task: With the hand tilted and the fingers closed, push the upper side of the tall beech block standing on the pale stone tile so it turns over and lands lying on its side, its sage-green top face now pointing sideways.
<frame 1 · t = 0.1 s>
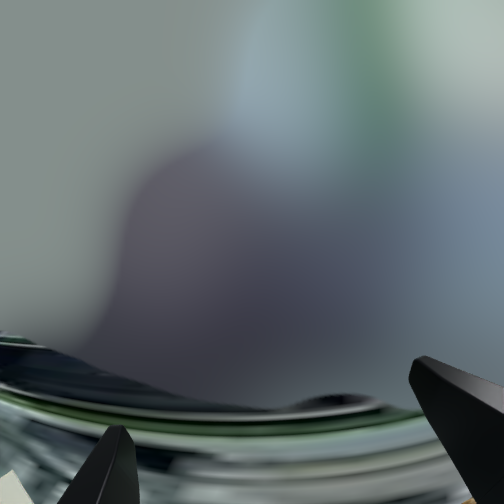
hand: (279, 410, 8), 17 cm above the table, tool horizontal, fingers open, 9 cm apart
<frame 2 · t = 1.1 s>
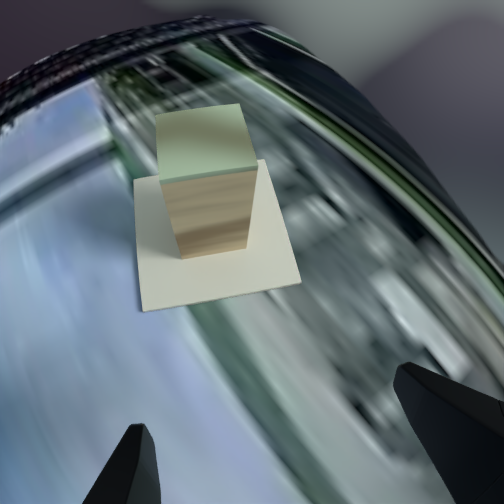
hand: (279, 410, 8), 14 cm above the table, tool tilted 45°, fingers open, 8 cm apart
beech block: (209, 225, 25), resting on stone tile
stone tile: (209, 228, 26), on the table
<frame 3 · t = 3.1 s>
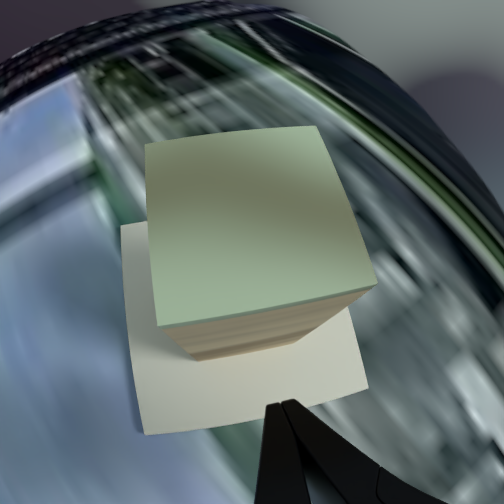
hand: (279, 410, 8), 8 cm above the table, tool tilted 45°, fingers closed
beech block: (236, 307, 17), resting on stone tile
stone tile: (236, 308, 17), on the table
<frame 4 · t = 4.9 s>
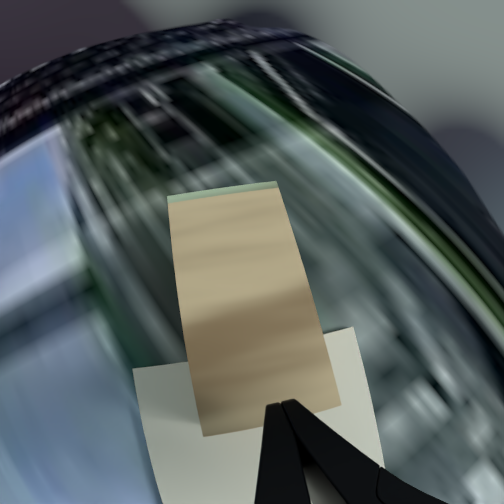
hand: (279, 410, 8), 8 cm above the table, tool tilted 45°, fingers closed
beech block: (266, 420, 12), point 3 cm above the table, tilted 94°, touching stone tile
stone tile: (269, 458, 14), on the table
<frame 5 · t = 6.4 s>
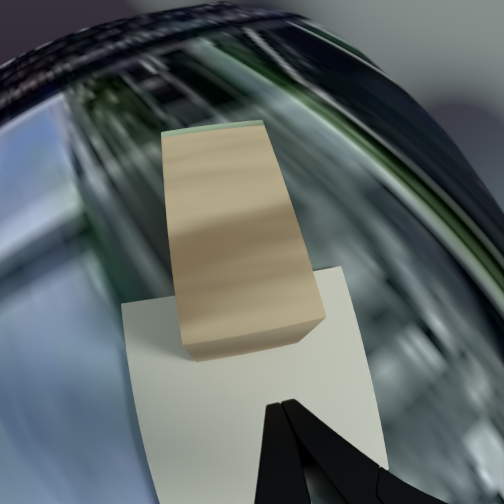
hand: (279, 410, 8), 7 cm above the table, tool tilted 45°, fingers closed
beech block: (251, 344, 13), point 3 cm above the table, tilted 94°, touching stone tile
stone tile: (257, 400, 15), on the table
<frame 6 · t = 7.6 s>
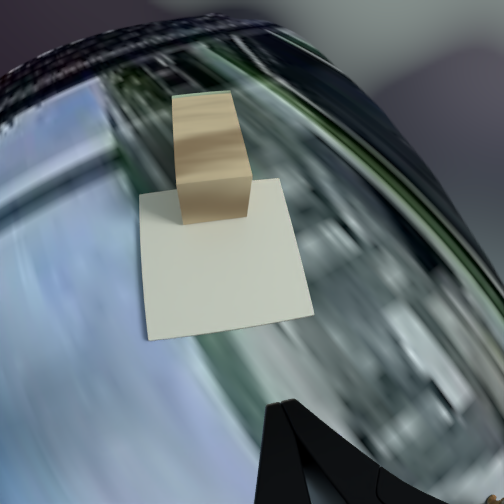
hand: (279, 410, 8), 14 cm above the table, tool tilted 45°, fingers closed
beech block: (214, 202, 23), point 3 cm above the table, tilted 94°, touching stone tile
stone tile: (219, 252, 25), on the table
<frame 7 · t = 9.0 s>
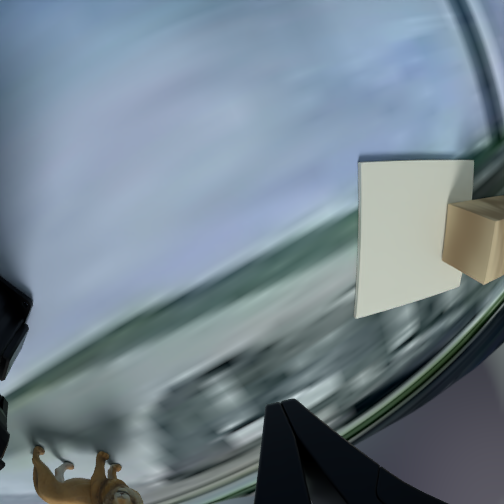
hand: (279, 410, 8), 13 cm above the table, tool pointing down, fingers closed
beech block: (466, 243, 21), point 3 cm above the table, tilted 94°, touching stone tile
lion figurine: (85, 455, 25), on the table
stone tile: (420, 234, 23), on the table
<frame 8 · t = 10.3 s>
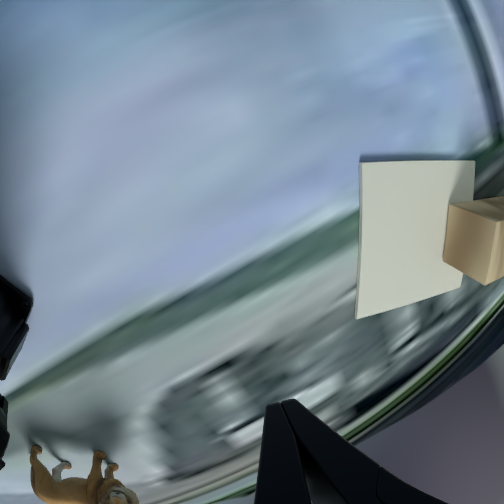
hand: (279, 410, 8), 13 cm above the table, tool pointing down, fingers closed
beech block: (467, 243, 21), point 3 cm above the table, tilted 94°, touching stone tile
lion figurine: (82, 454, 25), on the table
stone tile: (421, 235, 23), on the table
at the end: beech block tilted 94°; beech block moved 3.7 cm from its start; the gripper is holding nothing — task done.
